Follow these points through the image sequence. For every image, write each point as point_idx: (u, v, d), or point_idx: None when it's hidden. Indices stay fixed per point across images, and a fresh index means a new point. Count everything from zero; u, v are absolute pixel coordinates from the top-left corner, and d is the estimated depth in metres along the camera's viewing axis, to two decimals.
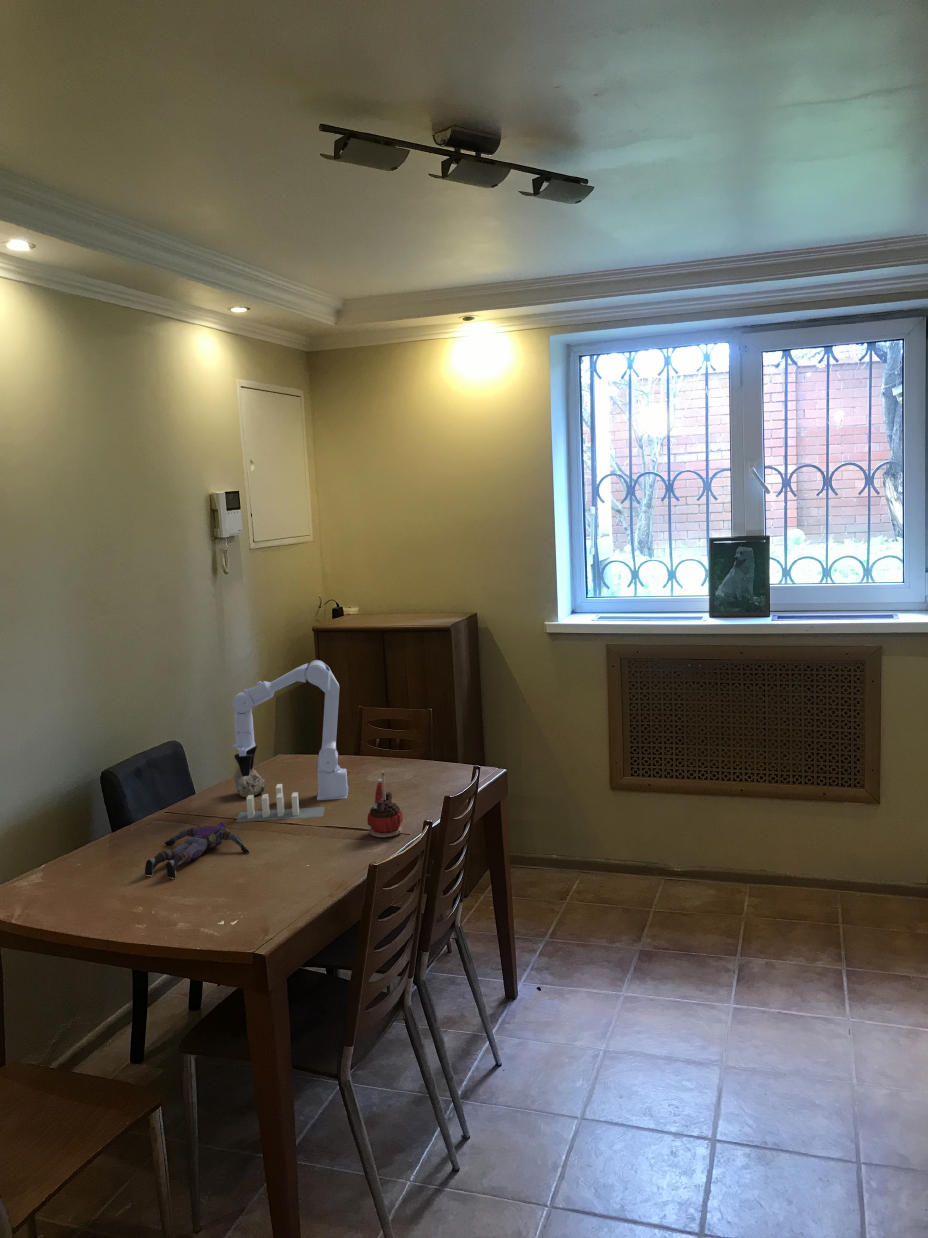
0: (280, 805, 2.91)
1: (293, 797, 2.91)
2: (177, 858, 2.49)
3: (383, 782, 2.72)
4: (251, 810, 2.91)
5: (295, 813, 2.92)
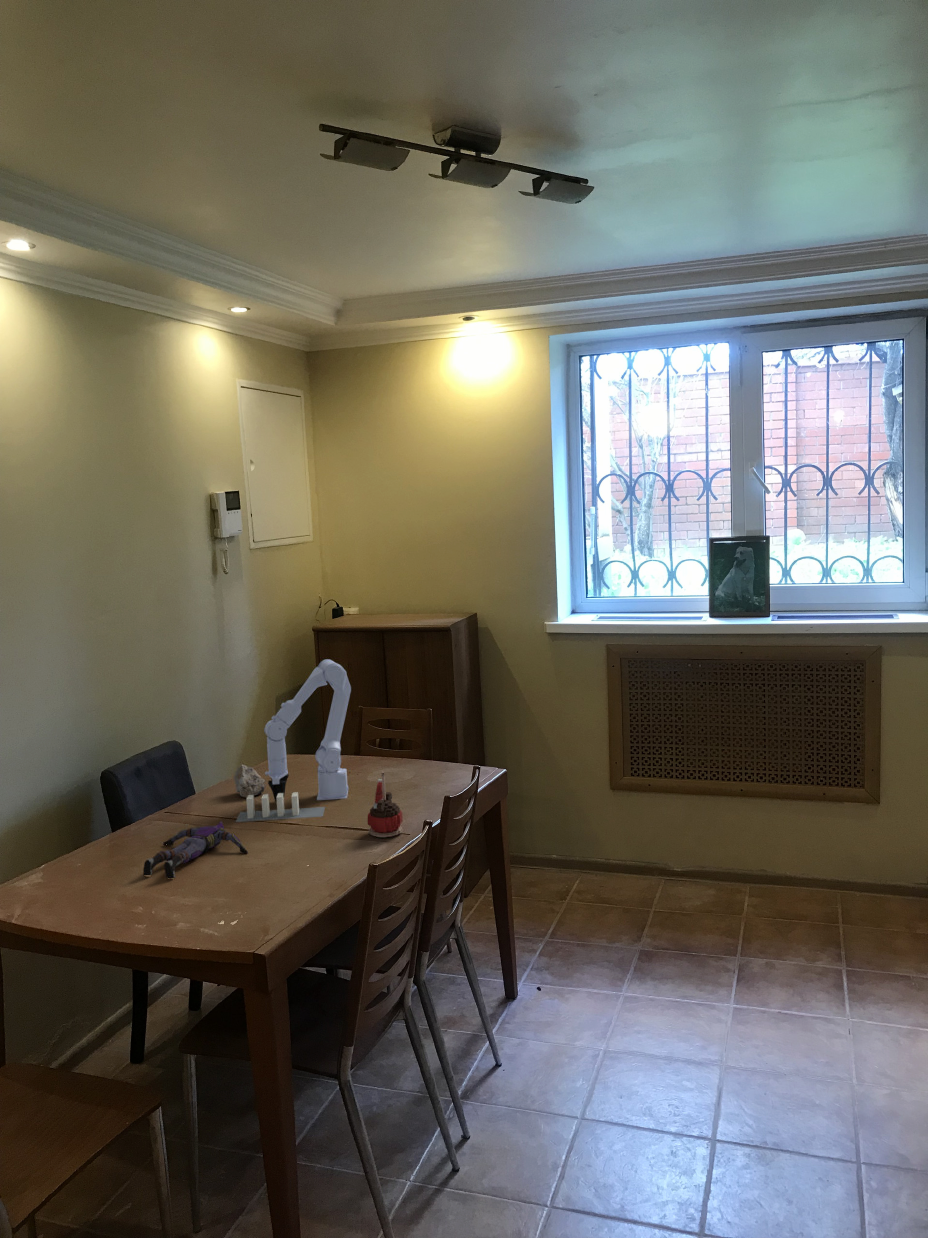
0: (280, 805, 2.91)
1: (293, 797, 2.91)
2: (175, 858, 2.49)
3: (383, 782, 2.72)
4: (251, 810, 2.91)
5: (295, 813, 2.92)
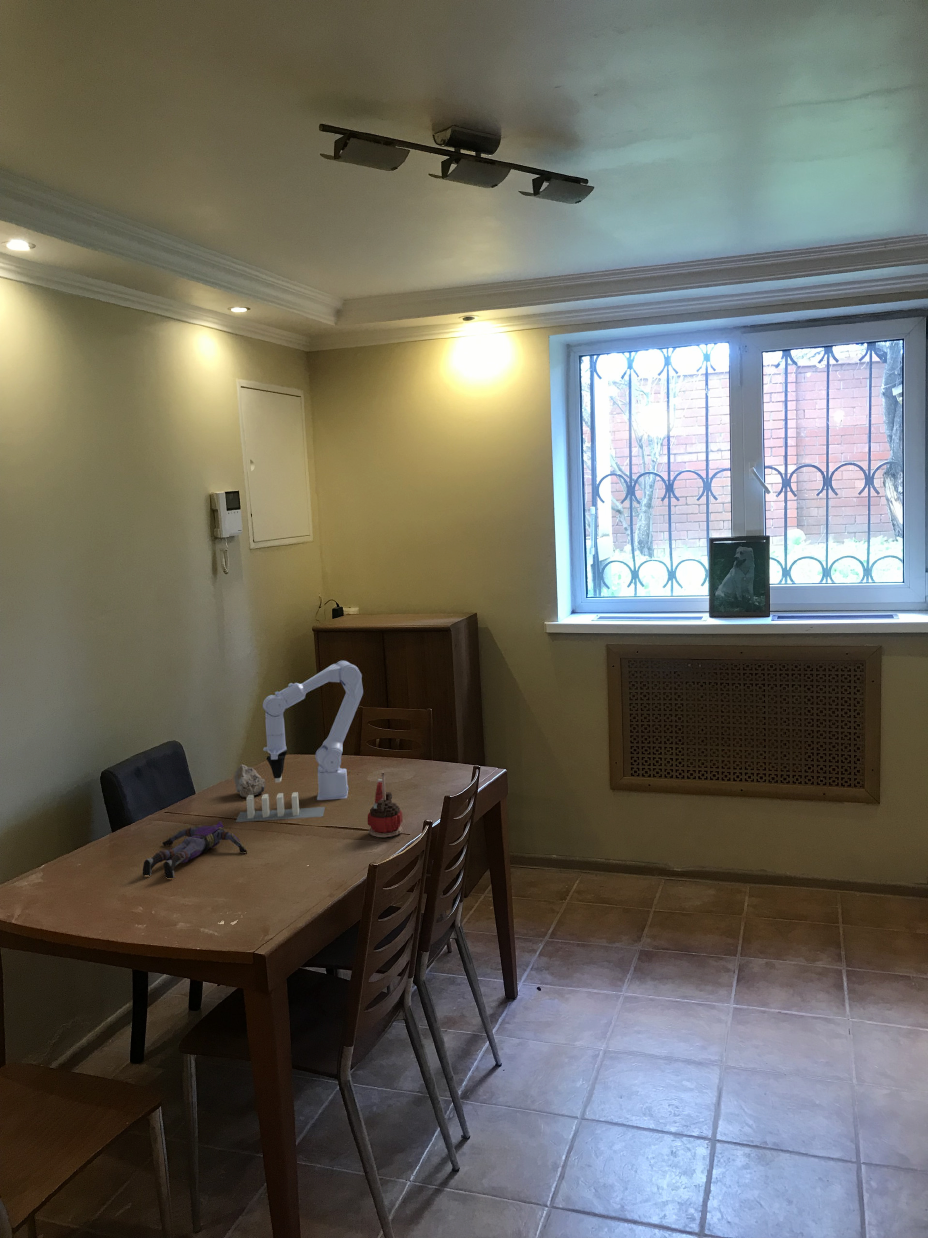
0: (280, 805, 2.91)
1: (293, 797, 2.91)
2: (175, 858, 2.49)
3: (383, 782, 2.72)
4: (251, 810, 2.91)
5: (295, 813, 2.92)
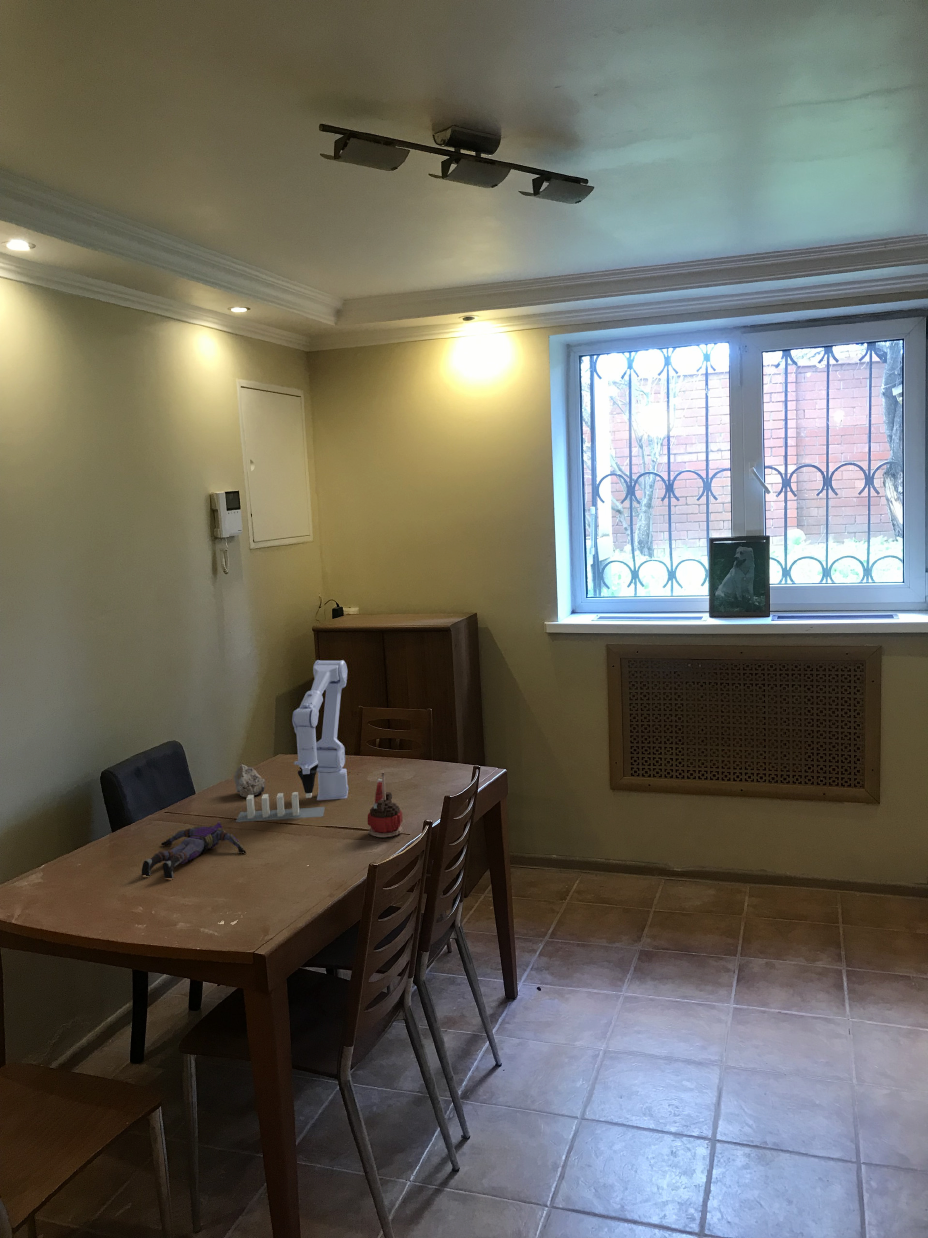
0: (280, 805, 2.91)
1: (293, 797, 2.91)
2: (174, 859, 2.49)
3: (383, 782, 2.72)
4: (251, 810, 2.91)
5: (295, 813, 2.92)
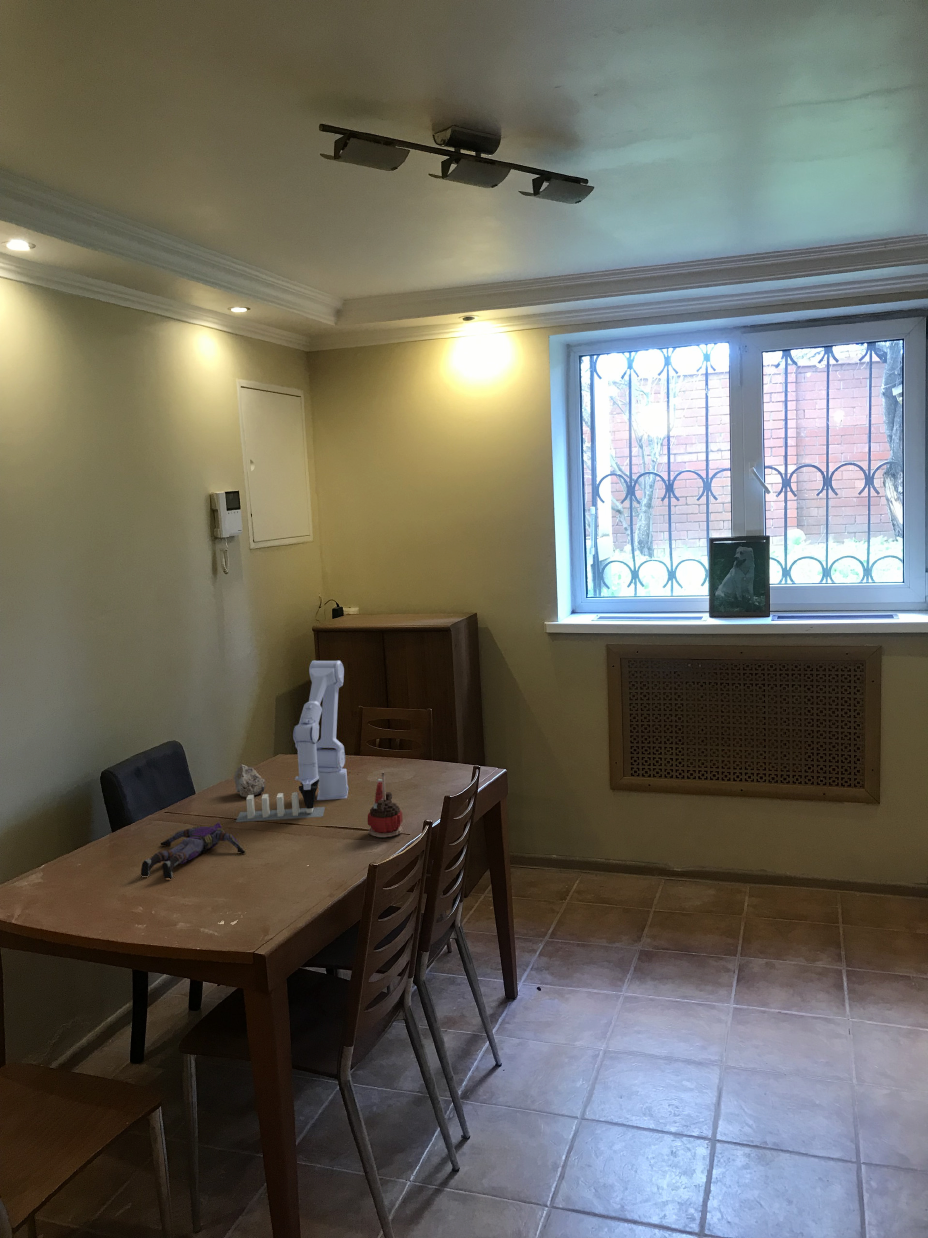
0: (280, 805, 2.91)
1: (293, 797, 2.91)
2: (173, 859, 2.48)
3: (383, 782, 2.72)
4: (251, 810, 2.91)
5: (295, 813, 2.92)
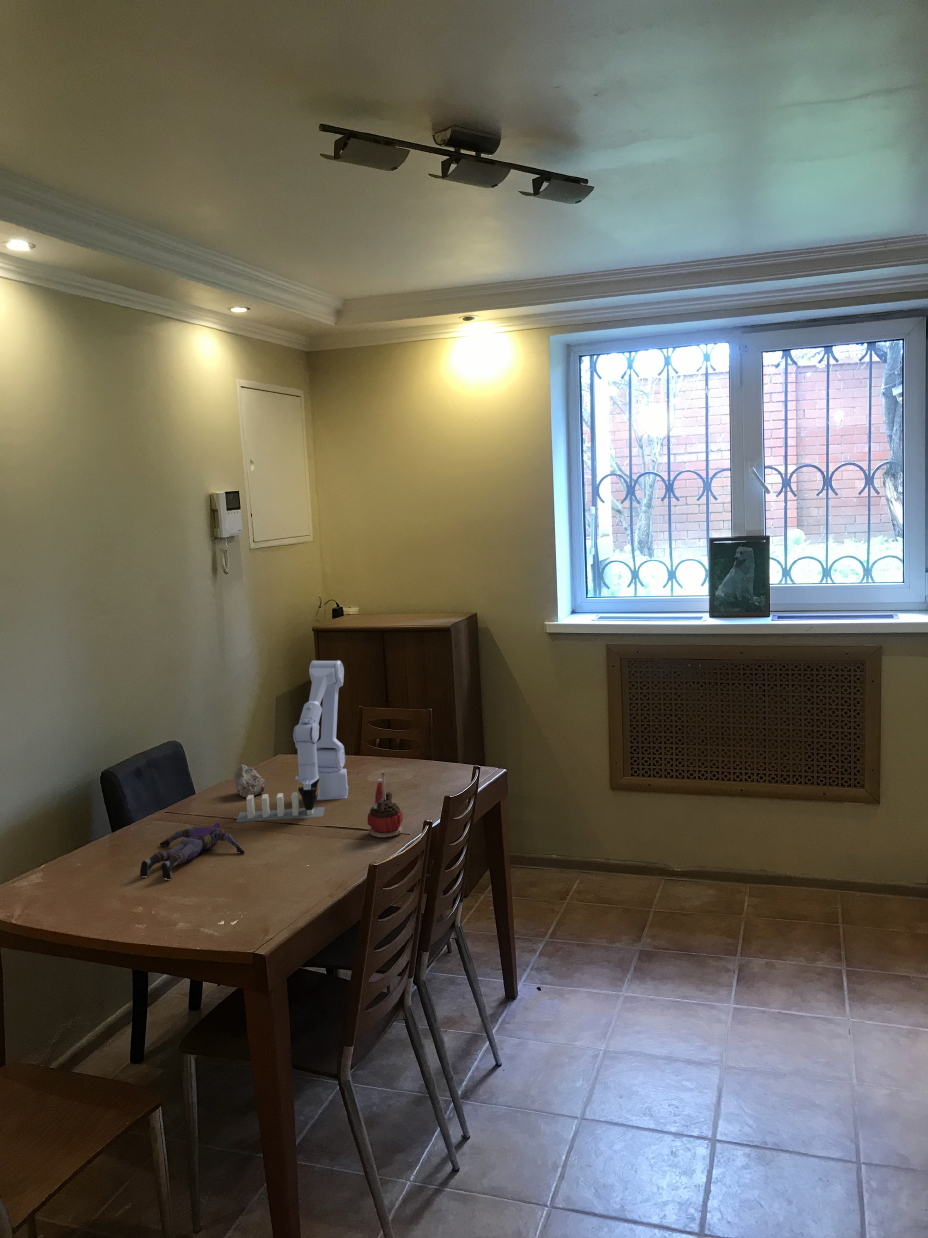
0: (280, 805, 2.91)
1: (293, 797, 2.91)
2: (172, 859, 2.48)
3: (383, 782, 2.72)
4: (251, 810, 2.91)
5: (295, 813, 2.92)
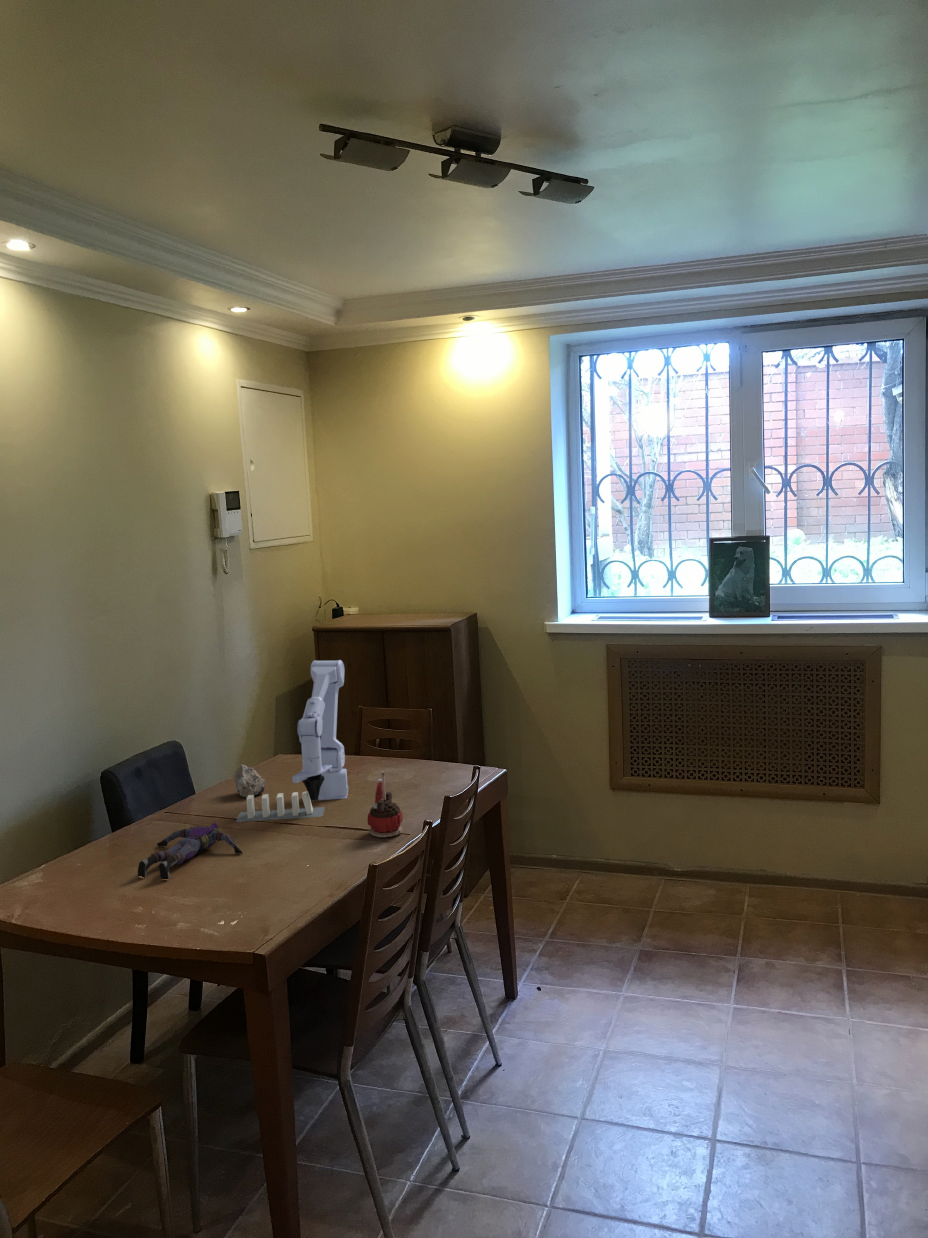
0: (280, 805, 2.91)
1: (293, 797, 2.91)
2: (170, 859, 2.48)
3: (383, 782, 2.72)
4: (251, 810, 2.91)
5: (295, 813, 2.92)
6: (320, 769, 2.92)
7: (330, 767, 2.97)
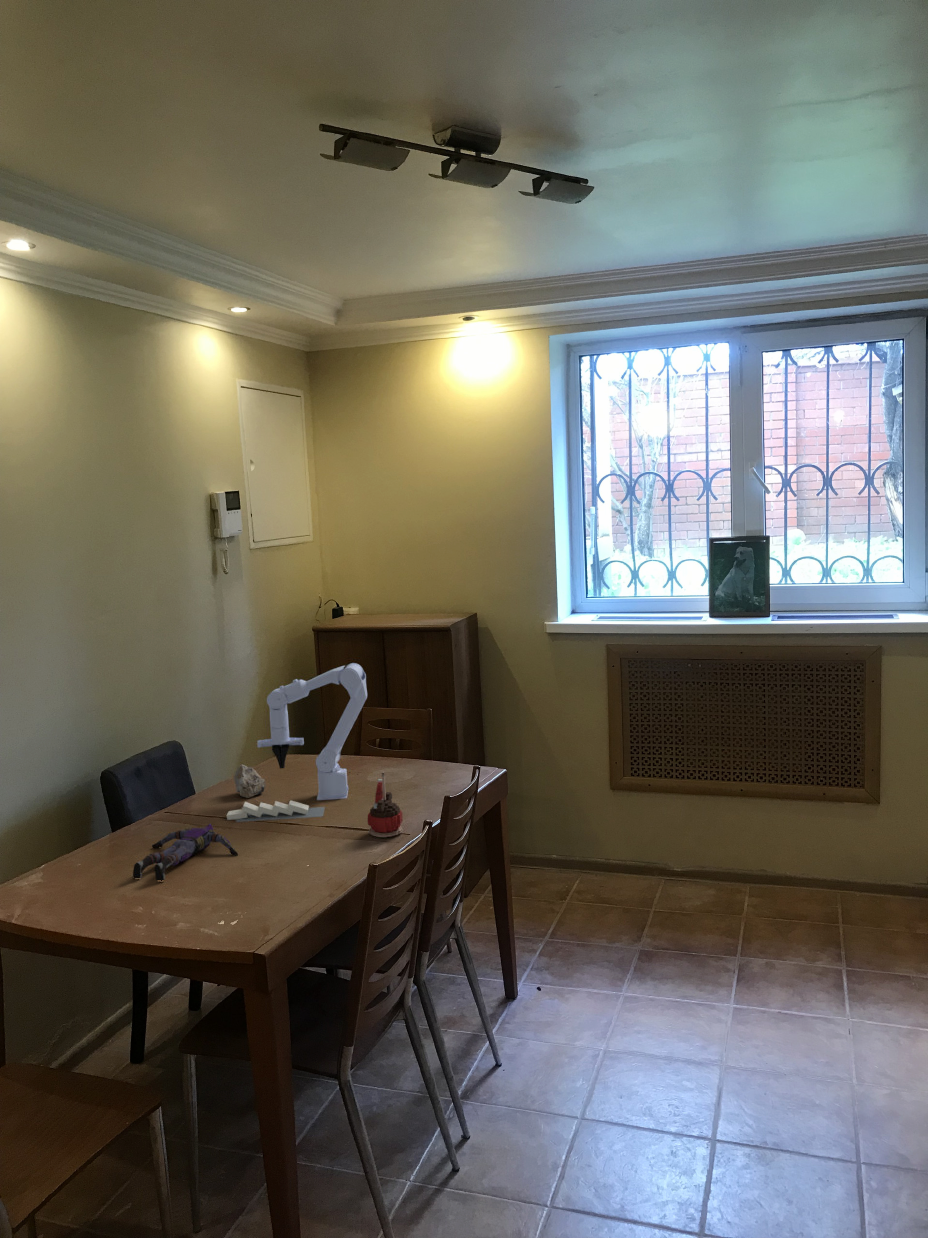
0: (266, 810, 2.91)
1: (274, 808, 2.91)
2: (165, 861, 2.47)
3: (383, 782, 2.72)
4: (238, 814, 2.91)
5: (290, 812, 2.92)
6: (282, 740, 3.06)
7: (300, 740, 3.08)
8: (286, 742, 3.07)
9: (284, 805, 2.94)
